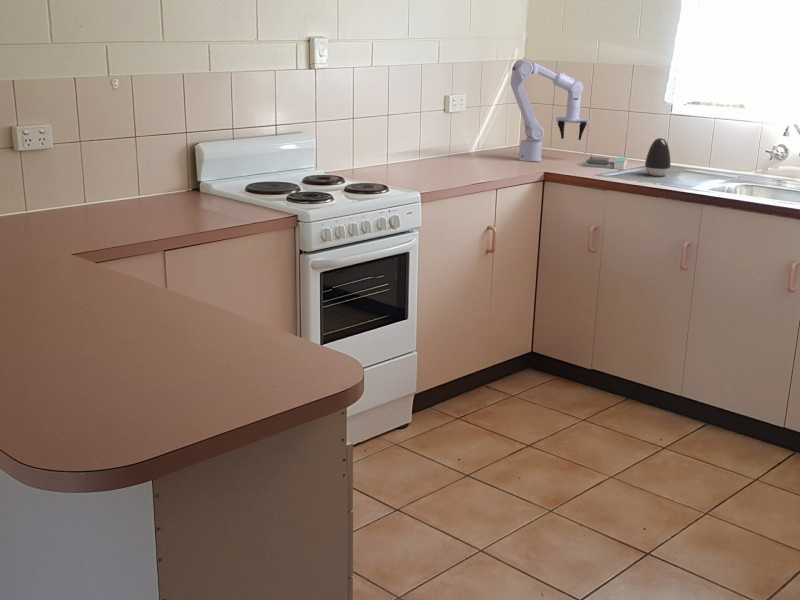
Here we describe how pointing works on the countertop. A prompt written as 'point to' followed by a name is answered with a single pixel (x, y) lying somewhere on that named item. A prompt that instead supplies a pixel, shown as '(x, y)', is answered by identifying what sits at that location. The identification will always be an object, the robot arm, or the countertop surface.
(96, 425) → the countertop surface
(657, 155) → the dark egg-shaped dome
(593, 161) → the trolley
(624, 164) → the dock
